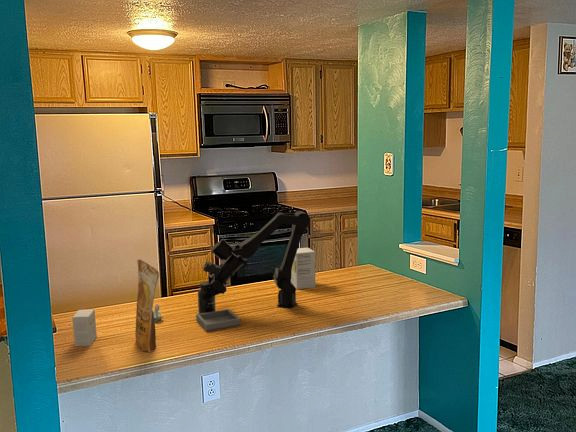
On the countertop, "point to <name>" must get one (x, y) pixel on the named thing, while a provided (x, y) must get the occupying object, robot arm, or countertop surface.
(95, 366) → the countertop surface
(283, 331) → the countertop surface
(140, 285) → the pancake mix bag
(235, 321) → the tray
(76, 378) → the countertop surface
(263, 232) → the robot arm
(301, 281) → the supplement box
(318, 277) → the countertop surface
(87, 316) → the small box
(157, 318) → the pacifier
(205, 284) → the supplement bottle
